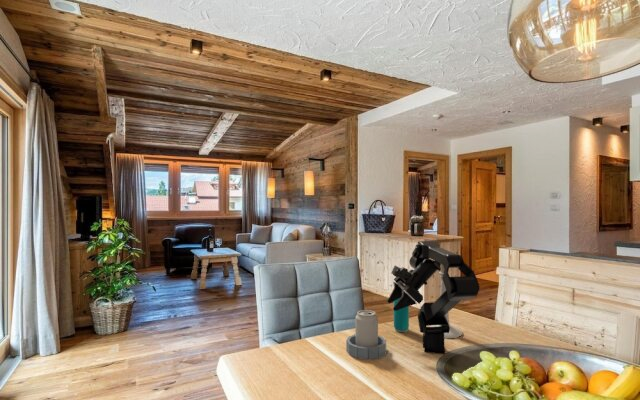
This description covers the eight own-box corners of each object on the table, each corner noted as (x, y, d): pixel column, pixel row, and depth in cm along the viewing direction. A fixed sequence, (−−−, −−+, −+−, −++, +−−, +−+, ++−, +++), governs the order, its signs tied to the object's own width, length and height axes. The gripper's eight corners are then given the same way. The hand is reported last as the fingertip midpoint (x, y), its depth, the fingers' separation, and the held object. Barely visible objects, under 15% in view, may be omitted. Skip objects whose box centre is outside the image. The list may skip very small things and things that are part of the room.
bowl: (387, 345, 123) (387, 335, 123) (383, 361, 110) (383, 350, 110) (351, 341, 126) (351, 331, 126) (343, 356, 114) (343, 345, 114)
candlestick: (425, 336, 131) (424, 255, 132) (428, 325, 143) (427, 251, 143) (462, 340, 126) (460, 257, 127) (462, 329, 138) (461, 252, 139)
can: (382, 347, 119) (381, 311, 119) (370, 354, 113) (370, 317, 113) (363, 341, 124) (363, 307, 124) (351, 348, 118) (351, 312, 118)
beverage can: (407, 327, 140) (407, 290, 140) (410, 333, 134) (409, 293, 134) (393, 327, 141) (392, 290, 141) (394, 332, 135) (394, 293, 135)
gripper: (398, 254, 133) (370, 284, 133) (412, 262, 115) (379, 296, 114) (419, 274, 133) (391, 304, 133) (437, 286, 115) (404, 320, 114)
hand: (390, 305), depth 124 cm, fingers open, 9 cm apart
